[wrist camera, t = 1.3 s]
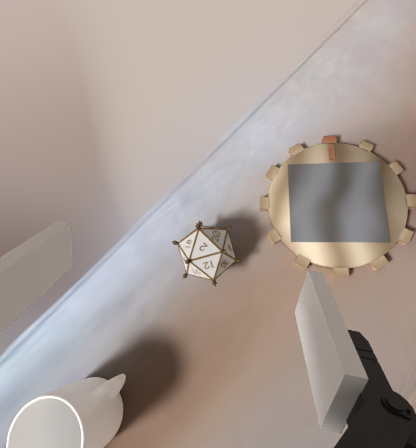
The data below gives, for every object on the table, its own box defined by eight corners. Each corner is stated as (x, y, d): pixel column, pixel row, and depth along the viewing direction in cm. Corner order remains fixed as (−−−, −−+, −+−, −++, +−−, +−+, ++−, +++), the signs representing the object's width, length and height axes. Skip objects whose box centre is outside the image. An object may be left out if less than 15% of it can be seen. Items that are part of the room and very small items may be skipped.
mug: (156, 394, 41) (125, 421, 31) (89, 462, 40) (33, 514, 30) (118, 344, 43) (78, 353, 33) (54, 407, 42) (-9, 437, 32)
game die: (206, 251, 49) (187, 200, 44) (254, 260, 45) (241, 205, 39) (176, 293, 44) (150, 241, 38) (228, 308, 39) (208, 252, 33)
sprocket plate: (401, 137, 46) (406, 131, 45) (424, 279, 40) (430, 277, 39) (258, 143, 49) (259, 138, 48) (260, 276, 43) (261, 274, 42)
